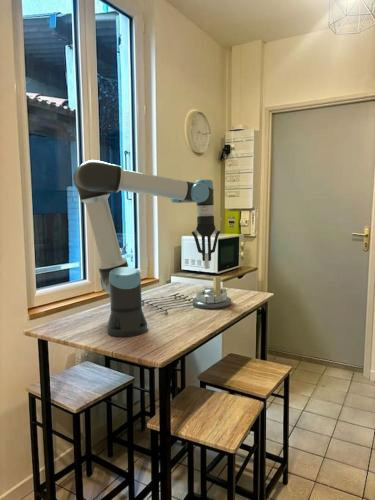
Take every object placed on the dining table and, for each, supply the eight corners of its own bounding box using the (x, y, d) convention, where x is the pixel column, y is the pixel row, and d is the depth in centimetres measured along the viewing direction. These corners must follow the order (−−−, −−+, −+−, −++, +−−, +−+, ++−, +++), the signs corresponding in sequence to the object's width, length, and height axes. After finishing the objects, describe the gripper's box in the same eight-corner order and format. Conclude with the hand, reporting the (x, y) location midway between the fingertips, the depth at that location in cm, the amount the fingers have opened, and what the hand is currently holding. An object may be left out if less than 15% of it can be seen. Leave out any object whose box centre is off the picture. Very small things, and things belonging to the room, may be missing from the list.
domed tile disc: (204, 304, 170) (203, 278, 169) (192, 297, 184) (191, 273, 182) (232, 300, 175) (232, 275, 174) (218, 294, 189) (218, 270, 187)
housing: (201, 311, 168) (201, 295, 168) (187, 301, 185) (186, 287, 184) (238, 306, 175) (238, 291, 174) (220, 297, 191) (220, 283, 191)
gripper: (189, 216, 166) (191, 269, 170) (220, 215, 165) (221, 269, 168) (191, 215, 174) (193, 266, 177) (220, 214, 172) (222, 266, 175)
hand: (207, 268), depth 172 cm, fingers closed
